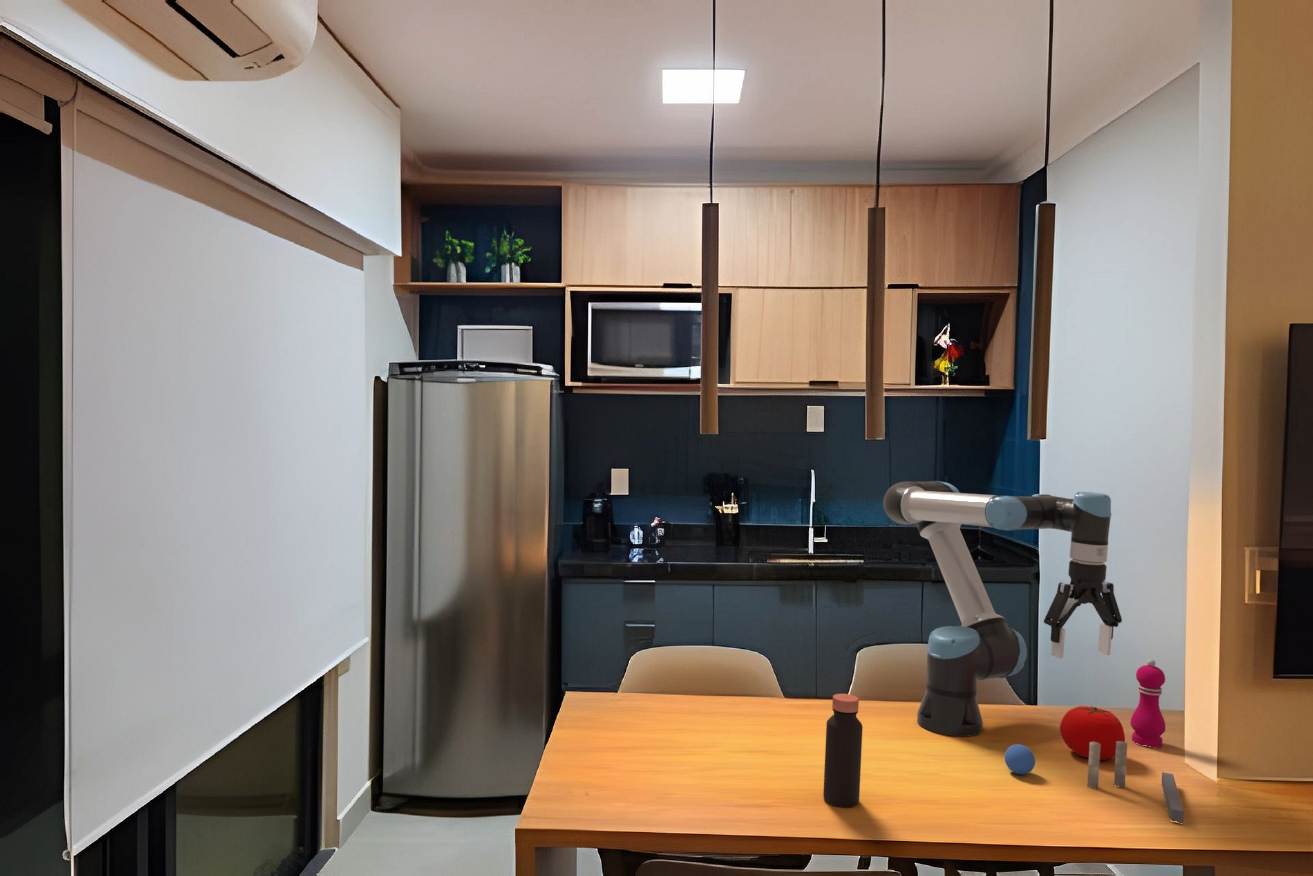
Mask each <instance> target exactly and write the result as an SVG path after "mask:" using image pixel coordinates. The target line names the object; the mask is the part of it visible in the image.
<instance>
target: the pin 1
mask: <svg viewBox="0 0 1313 876" xmlns="http://www.w3.org/2000/svg"><path fill="white" fill-rule="evenodd" d="M1100 745H1101V744H1100V743H1097V742H1090V745H1089V758H1088V763H1087V764H1088V765H1087V766H1088V767H1087V768H1088V769H1087V784H1086V785H1088V786H1089V787H1091V788H1090V789H1092V788H1098V789H1099V783H1100V782H1099V780H1100V779H1099V778H1100V762H1101V760H1100ZM1088 786H1087V787H1088ZM1089 787H1088V788H1089Z"/></svg>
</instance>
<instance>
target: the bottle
mask: <svg viewBox="0 0 1313 876" xmlns="http://www.w3.org/2000/svg"><path fill="white" fill-rule="evenodd" d="M859 701H860V700H859V697H857V696H856V695H852V694H850V693H849V694H848V693H836V694H834V695H832V701H831V702H832V706H831V707H832V711H833V714H832V715H831V716H830V717H829V718H828V719H827V720H826V728H825V729H826V730H825V731H826V732H825V746H824V747H825V748H824V749H825V750H824V751H825V752H824V753H825V754H824V770H823V771H824V773H823V790H822V791H823V793H822V794H823V795H822V796H823V800H824V801H825V802H826V803H827V804H829V805H831V806H834V807H838V808H853V807H855V806H857V805H858V804H859V803H860V795H861V794H860V791H861V788H860V787H861V769H862V748H863V747H862V745H863V729H864V728H863V724H862V722H861V721H860V720H859V718H858V717H857V715H858V713H859V704H860V703H859Z"/></svg>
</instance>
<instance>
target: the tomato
mask: <svg viewBox="0 0 1313 876" xmlns="http://www.w3.org/2000/svg"><path fill="white" fill-rule="evenodd" d="M1059 732H1060V735H1061V738H1062V740H1063V742H1064V743H1065V745H1066V746H1067V747H1068V748H1069V749H1070V750H1071V751H1073V752H1074V753H1076V755H1078V756H1081V757H1084V758H1086V759H1089V745H1090V742H1097V743H1100V744H1101V745H1100V761H1101V760H1102V761H1104V760H1111V759H1114V758H1115V757H1116V742H1117V741H1122V742H1126V735H1125V731H1124V727H1123V724H1122V723H1121V721H1120V720H1119V718H1118V717H1117V716H1116V715H1115V714H1114V713H1113V712H1112V711H1109V710H1106V709H1103V708H1098V707H1094V706H1092V705H1090V706H1086V705H1085V706H1084V705H1081V706H1080V705H1079V706H1076V707H1073V708H1071V709H1069V710H1068V711H1067V712H1065V713H1064V715H1063V717H1062V718H1061V722H1060V724H1059Z"/></svg>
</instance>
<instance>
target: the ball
mask: <svg viewBox="0 0 1313 876" xmlns="http://www.w3.org/2000/svg"><path fill="white" fill-rule="evenodd" d="M1004 763H1005V765H1006V767H1007V768H1008V769H1009V771H1011V772H1012V773H1014V774H1017V775H1023V776H1024V775H1027V774H1030V773H1031V772H1032V771H1033V770H1034V768H1035V766H1036V758H1035V754H1034V752H1033V751H1032V750H1031V748H1029V747H1028V746H1026V745H1023V744H1012V745H1010V746H1009V747H1008V748H1007V749H1006V751H1005V754H1004Z"/></svg>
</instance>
